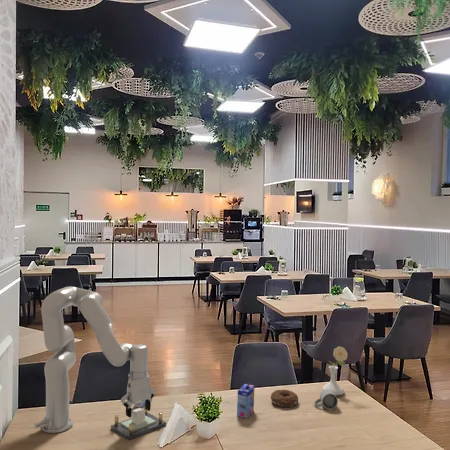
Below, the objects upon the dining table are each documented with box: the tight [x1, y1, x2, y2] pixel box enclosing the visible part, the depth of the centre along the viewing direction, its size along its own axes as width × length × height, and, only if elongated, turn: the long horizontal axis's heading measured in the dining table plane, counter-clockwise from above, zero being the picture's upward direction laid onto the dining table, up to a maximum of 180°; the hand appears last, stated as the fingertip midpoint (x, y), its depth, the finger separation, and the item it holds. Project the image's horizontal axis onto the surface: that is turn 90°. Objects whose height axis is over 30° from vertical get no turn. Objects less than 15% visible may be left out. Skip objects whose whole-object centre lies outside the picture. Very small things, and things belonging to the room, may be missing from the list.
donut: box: [270, 389, 299, 408], centre depth 218 cm, size 14×14×5 cm
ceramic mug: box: [313, 390, 339, 411], centre depth 214 cm, size 11×8×8 cm
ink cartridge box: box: [236, 381, 256, 419], centre depth 205 cm, size 10×6×14 cm, turn 158°
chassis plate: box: [110, 405, 167, 441], centre depth 190 cm, size 19×14×6 cm
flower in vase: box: [321, 346, 349, 396], centre depth 231 cm, size 13×11×25 cm
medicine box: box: [133, 400, 145, 409], centre depth 215 cm, size 8×4×9 cm, turn 168°
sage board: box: [121, 407, 156, 431], centre depth 191 cm, size 12×9×6 cm
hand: (138, 413), depth 190 cm, fingers open, 9 cm apart
